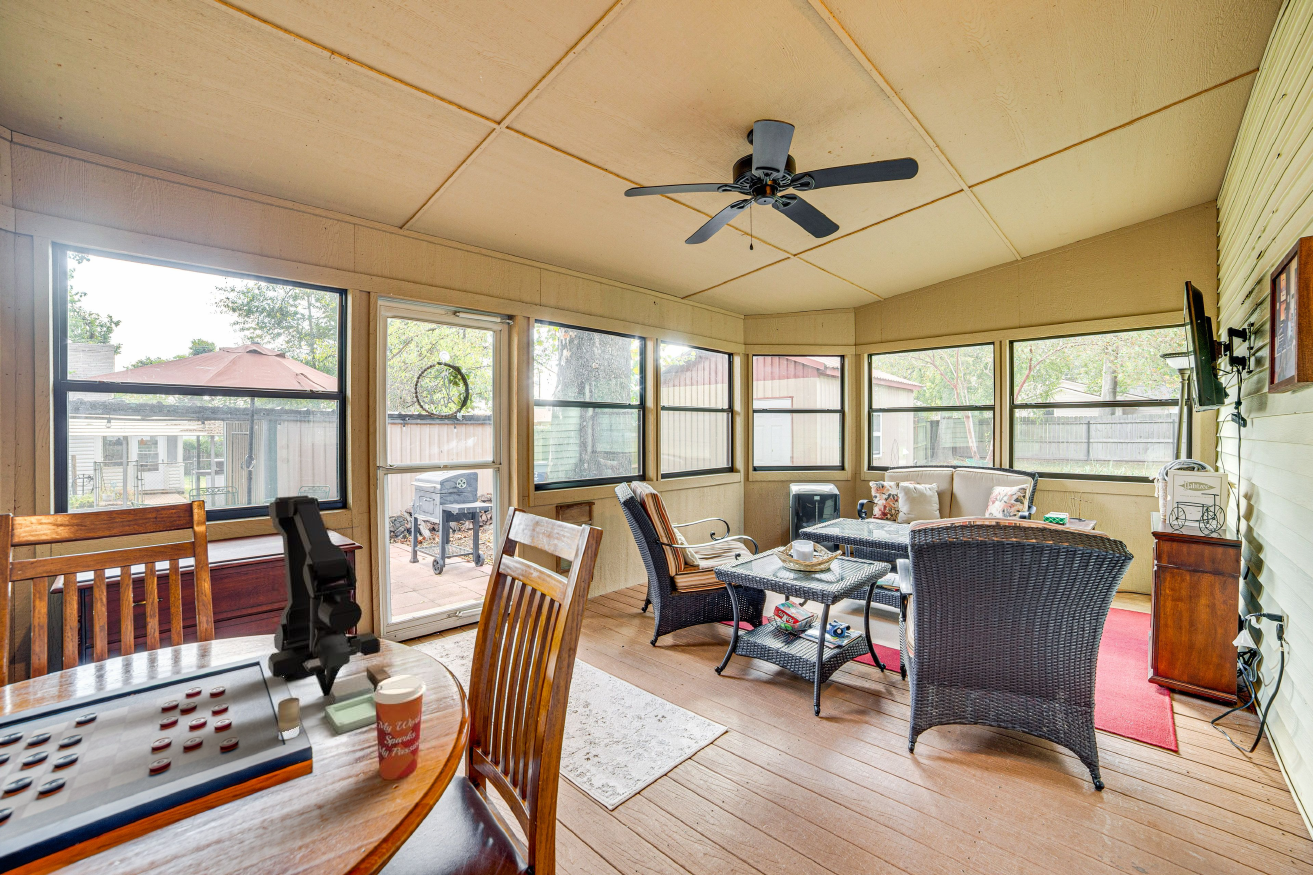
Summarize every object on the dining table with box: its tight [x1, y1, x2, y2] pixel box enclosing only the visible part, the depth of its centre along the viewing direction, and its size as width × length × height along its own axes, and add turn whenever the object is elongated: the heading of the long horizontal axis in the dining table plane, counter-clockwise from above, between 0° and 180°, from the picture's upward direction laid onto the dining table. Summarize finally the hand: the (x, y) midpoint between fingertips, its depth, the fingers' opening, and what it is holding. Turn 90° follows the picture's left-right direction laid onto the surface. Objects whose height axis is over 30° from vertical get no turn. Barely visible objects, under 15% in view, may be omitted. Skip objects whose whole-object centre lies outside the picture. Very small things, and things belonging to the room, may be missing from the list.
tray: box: [324, 692, 376, 735], centre depth 107 cm, size 9×9×2 cm
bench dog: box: [366, 663, 392, 692], centre depth 120 cm, size 8×2×3 cm, turn 44°
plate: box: [328, 674, 375, 705], centre depth 115 cm, size 7×7×2 cm
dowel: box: [277, 697, 301, 733], centre depth 100 cm, size 3×3×6 cm
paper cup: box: [373, 674, 427, 781], centre depth 91 cm, size 8×8×14 cm
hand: (326, 695), depth 113 cm, fingers closed
